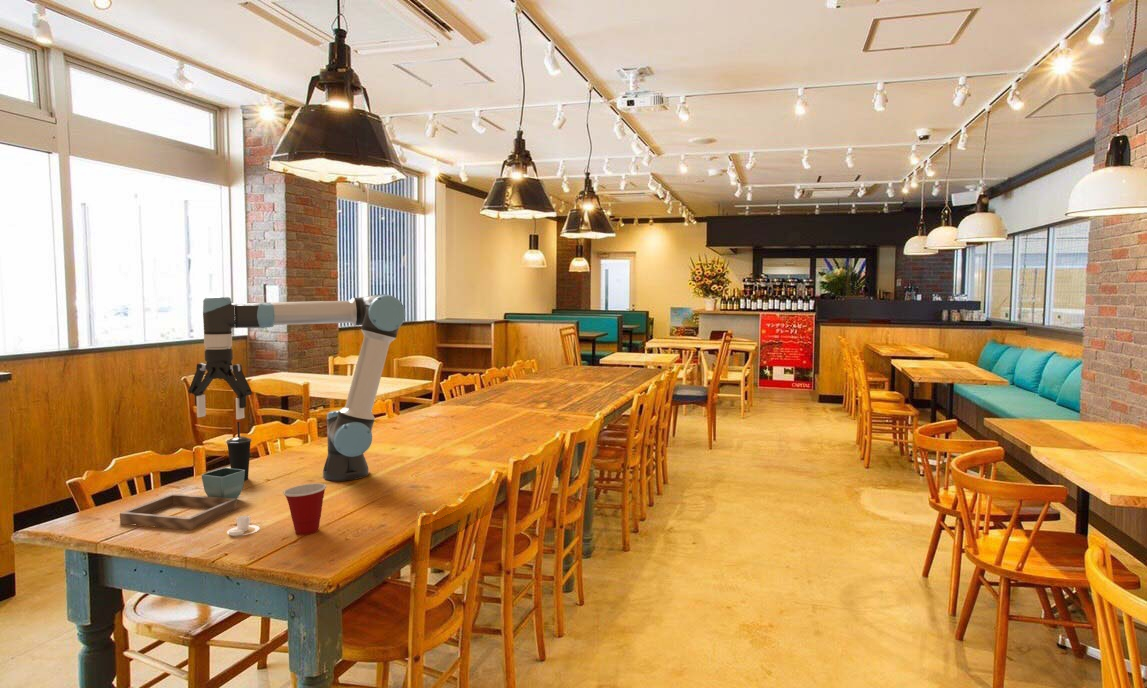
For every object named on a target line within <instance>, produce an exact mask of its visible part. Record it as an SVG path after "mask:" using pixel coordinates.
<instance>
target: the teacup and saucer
mask: <svg viewBox="0 0 1147 688" xmlns="http://www.w3.org/2000/svg"><path fill="white" fill-rule="evenodd" d="M235 519H236V526H235V527H232V528H230V529H228V530H227V531H226V534H227V535H228V536H232V537H233V536H234V537H240V536H249V535H252V534H254V533H256V532H258V531H260V528H261V527H260V526H258V525H255V524H250V523H251V516H249V515H239V516H237V517H236V518H235ZM249 528H253V529H254V530H253V531H251V532H248V530H249ZM245 532H248V533H245Z"/></svg>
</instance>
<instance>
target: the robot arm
mask: <svg viewBox="0 0 1147 688" xmlns="http://www.w3.org/2000/svg"><path fill="white" fill-rule="evenodd" d="M231 299H232V298H231V297H229V296H207V297H205V298H204V299H203V301H202V303H203V306H202V317H203V347H204V348H205V349H204V361H205V362H206V363H205V362H200V363H197V364H196V369H195V370H196V371H195V373H194V376H193V378H192V381H191V383H190V386H189V388H188V390H187V391H188V393H189V394H192V395H193V396H194V405H195V407H196V417H197V418H202V417H206V416H207V413H206V411H207V409H206V394H205V393H204V392H205V391H206V390H207V389H208V387H209V386H210V384H211V383H212V381H213V380H217V379H218V380H224V381H225V382H226V383H227V384H228V385H229V387H230V389H232V391H233V392H234V393H235V395H236V397H235V420H242V419H245V418H246V415H245V408H246V407H247V397H248V396H250V395H252V394H253V391H252V390H251V387H250V385H249V383H248V381H247V378H246V376H245V374H244V372H243V367H242V364H241V363H238V364H232V362H233V360H234V355H233V351H234V350H233V349H232V347H233V329H255V328H256V329H257V328H258V329H259V328H260V329H266V328H273V327H274V326H284V325H290V326H291V325H316V324H318V325H319V324H320V325H321V324H323V325H325V324H348V323H350V324H351V325H352V326H361V329H360V331H361V333H362V334H363V340H362V342H361V345H360V346H361V347H360V351H359V354H358V359H357V362H356V366H355V369H354V373H353V377H352V380H351V385H350V388H349V391H348V395H347V399H346V403H345V406H344V407H342V408H340V409H339V410H331V411H328V412H327V414H326V428H327V433H326V434H327V435H326V436H327V455H326V456H327V457H326V460H325V463H324V466H323V470H322V477H323V479H324V480H327V481H332V482H334V481H335V482H342V481H343V482H346V481H353V480H358V479H361V478H365V477H367V476H368V475H369V472H370V471H369V465H368V462H367V459H366V457H365V454H364V453H366V452H367V451H368V450H369V448H370V447H371V446H372V442H373V433H372V430H373V426H374V423H375V419H376V418H375V416H374V414H373V408H374V404H375V400H376V396H377V394H378V390H379V386H380V381H381V378H382V376H383V375H382V374H383V371H384V367H385V364H386V363H385V362H386V360H387V359H386V358H387V355H388V352H389V348H390V344H391V343H392V342H393V341H394V340H396V339H397V336H398V333H399V329H400V327H401V326H402V325H403V323H404V321H405V318H406V310H405V306H404V304H403V303H402V301H400V299H398V298H397V297H395V296H394V295H391V294H385V293H382V294H373V295H369V296H361V297H352V298H351V299H350V300H322V301H320V300H318V301H317V300H316V301H276V302H275V301H274V302H273V301H272V302H266V301H265V302H255V301H250V302H247V303H234V302H232V300H231ZM206 371H207V372H206Z"/></svg>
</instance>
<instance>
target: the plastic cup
mask: <svg viewBox="0 0 1147 688" xmlns="http://www.w3.org/2000/svg"><path fill="white" fill-rule="evenodd" d="M326 488H327V485H326V484H325V483H320V482H318V483H316V482H315V483H313V482H312V483H305V484H300V485H296V486H293V487H289V488H287V489H284V491H283V496H284V497H285V498H286V501H287V503H288V508H289V512H290V516H291V520H292V524H293V528H294V529H293V530H294V532H295V534H296V535H300V536H302V535H303V536H304V535H305V536H307V535H311V534H315V533H317V532H318V531H319V529H320V522H321V521H320V520H321V518H322V509H323V503H324V496H325V490H326Z"/></svg>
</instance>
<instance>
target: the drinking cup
mask: <svg viewBox="0 0 1147 688" xmlns="http://www.w3.org/2000/svg"><path fill="white" fill-rule="evenodd" d="M236 426H237V430H236V432H237V436H234V437H232V438H230V439H228V440H226V444H227V451H228V459H229V468H232V469H241V470H245V476H244V482H245V481H248V480H249V471H250V470H249V469H250V455H251V442H252V438H250V437H247V436H241V432H240V430H241V429H240V421H237V422H236Z"/></svg>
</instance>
